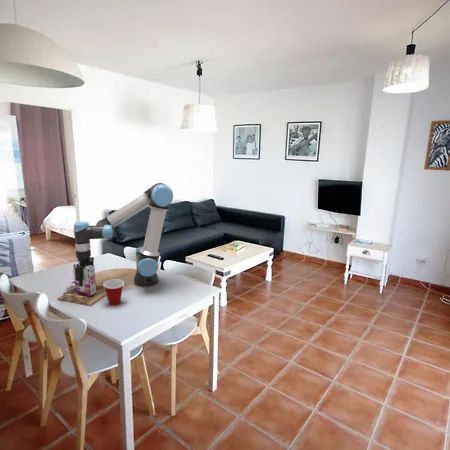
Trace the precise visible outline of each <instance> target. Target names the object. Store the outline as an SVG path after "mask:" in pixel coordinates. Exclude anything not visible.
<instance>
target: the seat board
mask: <svg viewBox="0 0 450 450" xmlns="http://www.w3.org/2000/svg"><path fill="white" fill-rule="evenodd" d="M105 298H107V294H106V290H105V287H104V285H103V284H97V283H96V293H95V294H93V295H91V296H89V295H85V294H80V293H76V291H75V285H71V284H69V285H67V286H66V291H64V292H63V293H62V295H60V296H59V297H57V299H56V300H57V301H61V302H67V303H71V304H77V305H83V306H88V307H92V306H93V305H94V304H96V303H98V302H100V301H101V300H103V299H105Z"/></svg>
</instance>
